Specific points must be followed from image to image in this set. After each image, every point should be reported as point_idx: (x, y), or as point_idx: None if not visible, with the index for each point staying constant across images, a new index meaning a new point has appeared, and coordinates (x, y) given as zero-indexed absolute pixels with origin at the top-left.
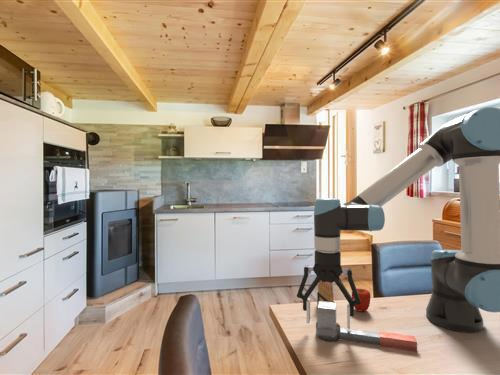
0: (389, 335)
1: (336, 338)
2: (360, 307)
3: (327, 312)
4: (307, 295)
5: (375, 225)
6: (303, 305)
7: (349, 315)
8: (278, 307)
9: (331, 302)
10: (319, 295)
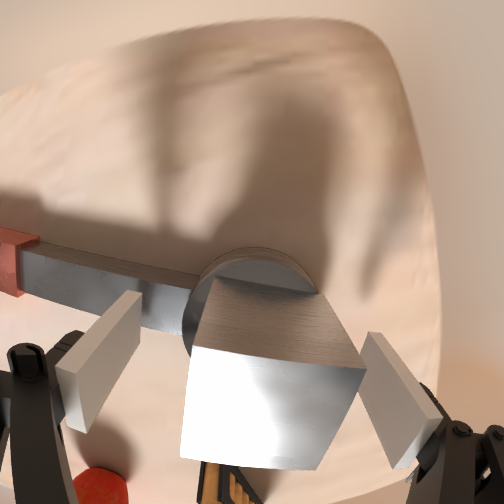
0: None
1: (216, 262)
2: (102, 477)
3: (272, 339)
4: (456, 455)
5: None
6: (435, 404)
7: (93, 328)
8: (409, 466)
9: (211, 500)
10: None
